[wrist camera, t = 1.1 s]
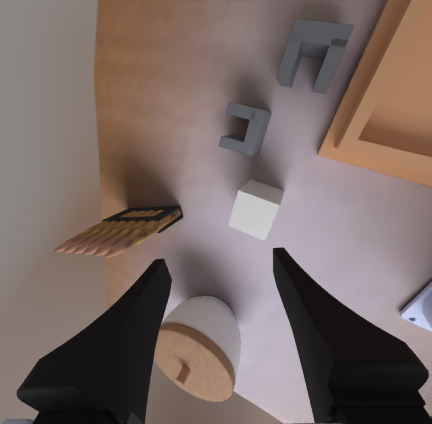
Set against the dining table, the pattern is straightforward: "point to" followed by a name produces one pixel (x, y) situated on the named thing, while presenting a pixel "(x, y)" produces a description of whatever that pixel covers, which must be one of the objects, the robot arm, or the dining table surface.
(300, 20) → the clip
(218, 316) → the lidded bowl
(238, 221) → the plain white rectangular block
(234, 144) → the clip
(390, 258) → the dining table surface
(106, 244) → the ammunition clip
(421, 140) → the wooden tray
